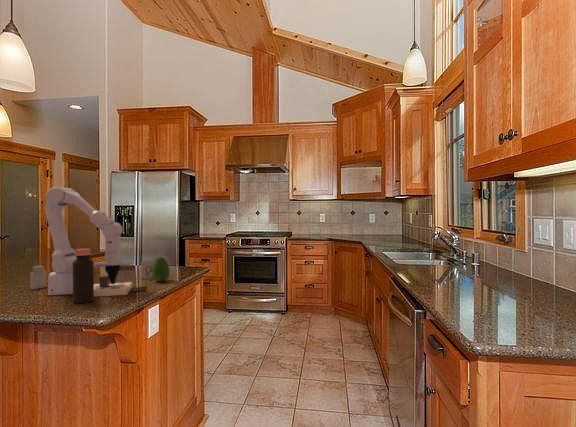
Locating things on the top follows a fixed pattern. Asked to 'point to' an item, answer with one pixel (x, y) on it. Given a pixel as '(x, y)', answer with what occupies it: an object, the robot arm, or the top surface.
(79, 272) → the bottle
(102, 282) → the breaker slider
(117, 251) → the robot arm
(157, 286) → the top surface
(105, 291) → the power strip
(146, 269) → the electrical switch
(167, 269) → the avocado
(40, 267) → the power adapter
